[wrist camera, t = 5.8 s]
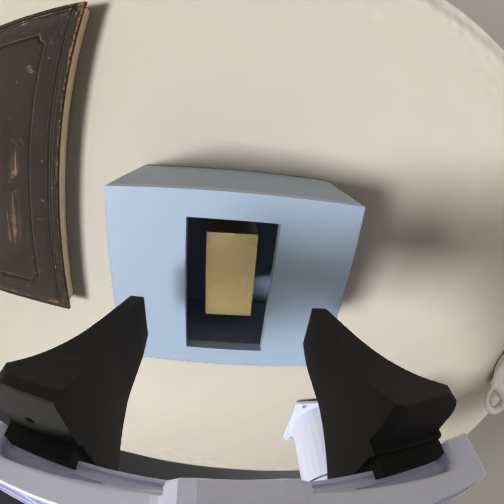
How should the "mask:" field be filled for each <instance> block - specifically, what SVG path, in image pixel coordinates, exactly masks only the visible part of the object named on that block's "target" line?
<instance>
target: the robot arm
mask: <svg viewBox="0 0 504 504" xmlns="http://www.w3.org/2000/svg"><path fill="white" fill-rule="evenodd" d="M147 337H148V329H147V320H146V311H145V301H144V297H140V296H130V297H128V298H127V299H126V300H125V301H123V302H122V303H121V304H120V305H118V306H117V307H116V308H115V309H114V310H112V311H111V312H110V313H109V314H107V315H106V316H105V317H104V318H102V319H101V320H100V321H98V322H97V323H95V324H94V325H93V326H91V327H90V328H89V329H87V330H86V331H84V332H83V333H81V334H79V335H78V336H76V337H74V338H73V339H71V340H69V341H67V342H65V343H63V344H61V345H59V346H57V347H55V348H53V349H51V350H48V351H46V352H43V353H41V354H38V355H35V356H32V357H28V358H25V359H21V360H17V361H13V362H8V363H6V364H5V366H4V367H3V369H2V370H1V372H0V406H1V408H2V409H3V410H4V412H5V413H6V415H7V416H8V417H9V419H10V420H11V422H10V424H9V426H7V425H6V424H4V423H3V422H2V421H0V490H2V491H4V492H5V493H7V494H9V495H11V496H12V497H14V498H16V499H18V500H19V501H21V502H23V503H25V504H447V503H449V502H451V501H453V500H454V499H456V498H457V497H458V496H460V495H461V494H463V493H464V492H466V491H467V490H468V489H470V488H471V487H473V486H474V485H475V484H477V483H478V482H479V481H480V480H482V479H483V478H484V477H485V476H486V472H485V470H484V468H483V466H482V464H481V462H480V460H479V458H478V456H477V454H476V452H475V450H474V448H473V446H472V445H471V443H470V441H469V439H468V437H467V435H466V434H461V435H459V436H456V437H454V438H451V439H449V440H447V441H445V442H444V443H442V444H440V442H439V440H438V439H439V438H440V437H441V433H440V431H439V428H440V427H441V426H442V425H443V424H444V422H445V421H446V420H447V419H448V418H449V416H450V415H451V414H452V412H453V411H454V409H455V407H456V399H455V397H454V396H453V394H452V392H451V391H450V389H449V388H448V386H447V385H444V384H441V383H438V382H435V381H431V380H428V379H426V378H423V377H421V376H418V375H416V374H414V373H411V372H409V371H407V370H405V369H403V368H401V367H399V366H398V365H396V364H394V363H392V362H391V361H389V360H387V359H386V358H384V357H383V356H381V355H380V354H378V353H377V352H375V351H374V350H373V349H371V348H370V347H369V346H367V345H366V344H365V343H364V342H362V341H361V340H360V339H359V338H358V337H356V336H355V335H354V334H353V333H352V332H351V331H350V330H348V329H347V328H346V327H345V326H344V325H343V324H342V323H341V322H340V321H339V320H338V319H337V318H336V317H334V316H333V315H332V314H331V313H330V312H329V311H328V310H327V309H325V308H312V311H311V315H310V319H309V323H308V326H307V330H306V334H305V337H304V341H303V348H304V355H305V361H306V365H307V369H308V372H309V375H310V379H311V382H312V385H313V388H314V392H315V395H316V398H317V401H301V402H297V403H296V404H295V406H294V409H293V412H292V415H291V417H290V420H289V423H288V425H287V428H286V430H285V433H284V435H283V439H284V440H294V441H295V446H296V452H297V457H298V463H299V468H300V474H301V479H265V480H225V479H205V478H177V479H172V480H169V481H168V480H161V479H154V478H149V477H143V476H138V475H133V474H128V473H123V472H119V471H118V468H119V454H120V445H121V437H122V430H123V424H124V418H125V412H126V407H127V402H128V398H129V395H130V391H131V389H132V386H133V383H134V380H135V377H136V374H137V372H138V369H139V366H140V363H141V360H142V358H143V355H144V351H145V347H146V342H147Z"/></svg>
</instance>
